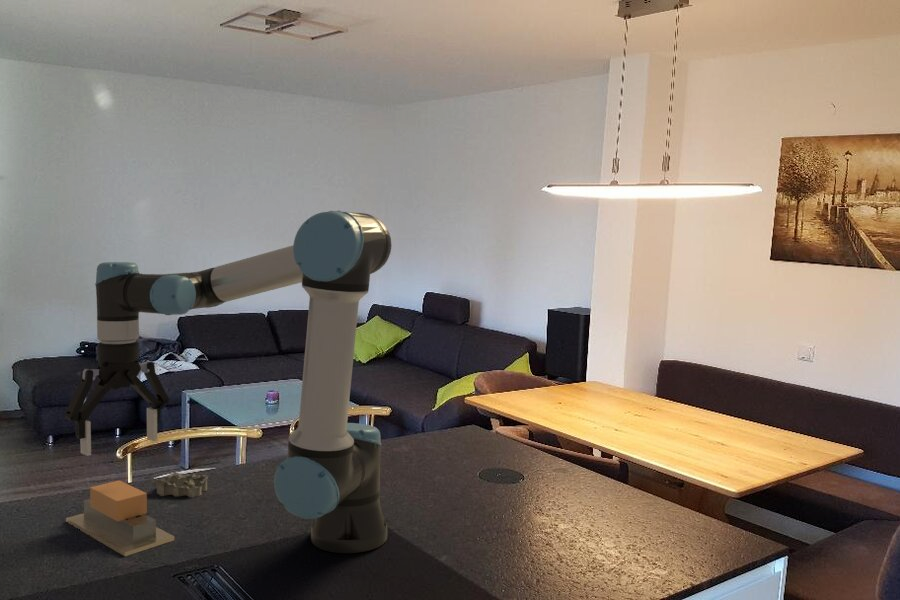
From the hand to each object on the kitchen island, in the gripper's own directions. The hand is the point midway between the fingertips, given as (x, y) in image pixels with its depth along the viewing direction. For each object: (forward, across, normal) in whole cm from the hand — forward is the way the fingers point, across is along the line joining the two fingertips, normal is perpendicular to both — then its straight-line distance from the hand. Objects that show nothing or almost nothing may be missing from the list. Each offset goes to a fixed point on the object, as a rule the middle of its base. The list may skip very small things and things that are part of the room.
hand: (120, 446), depth 148 cm
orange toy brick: (+16, 0, 0) cm, 16 cm away
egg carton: (+18, -20, -11) cm, 29 cm away
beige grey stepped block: (+17, +1, 0) cm, 17 cm away
